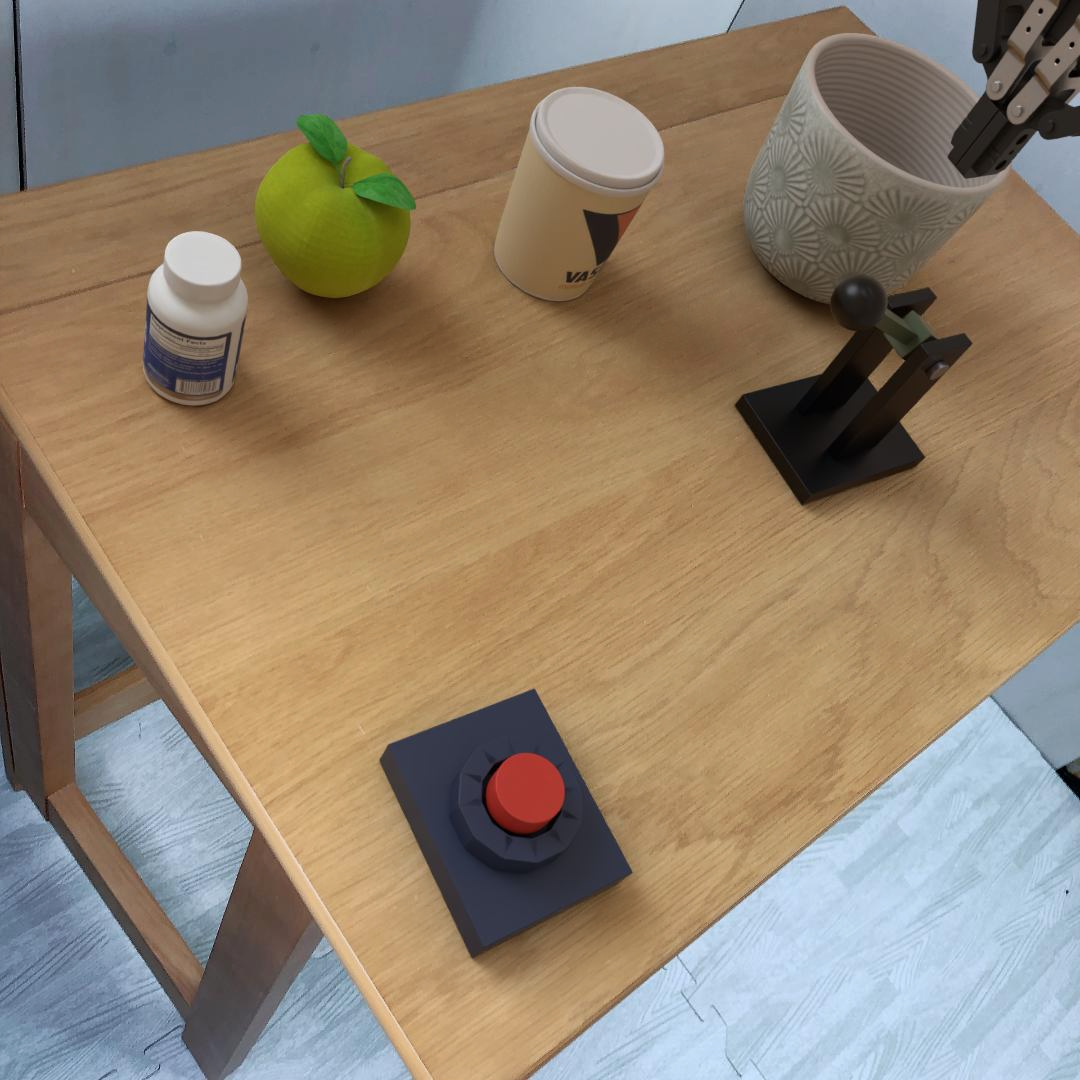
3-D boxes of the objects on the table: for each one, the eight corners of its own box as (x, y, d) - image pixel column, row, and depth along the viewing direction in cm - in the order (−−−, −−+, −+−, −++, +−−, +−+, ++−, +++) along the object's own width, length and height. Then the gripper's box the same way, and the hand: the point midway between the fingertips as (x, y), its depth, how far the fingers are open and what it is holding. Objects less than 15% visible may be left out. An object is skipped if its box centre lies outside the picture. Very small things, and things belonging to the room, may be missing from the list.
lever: (842, 336, 66) (888, 299, 64) (811, 295, 67) (856, 257, 65) (912, 375, 77) (953, 344, 76) (886, 339, 78) (925, 308, 77)
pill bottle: (178, 324, 71) (190, 205, 63) (252, 370, 71) (274, 257, 63) (122, 376, 68) (128, 257, 60) (200, 424, 68) (216, 311, 60)
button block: (617, 884, 61) (647, 861, 58) (471, 958, 56) (495, 938, 53) (522, 704, 65) (545, 673, 62) (378, 760, 60) (395, 730, 57)
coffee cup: (561, 331, 82) (626, 204, 72) (457, 253, 82) (508, 117, 73) (624, 270, 87) (692, 144, 78) (526, 198, 88) (581, 64, 78)
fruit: (321, 206, 80) (349, 86, 72) (414, 293, 79) (453, 181, 71) (217, 254, 75) (235, 131, 67) (315, 348, 73) (345, 234, 66)
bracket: (801, 505, 80) (907, 391, 70) (734, 405, 83) (825, 281, 73) (916, 467, 86) (1028, 356, 76) (849, 374, 89) (948, 256, 79)
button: (565, 818, 58) (578, 806, 57) (505, 846, 56) (516, 834, 55) (532, 755, 59) (544, 742, 58) (473, 780, 58) (483, 767, 56)
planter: (684, 179, 96) (773, 18, 84) (848, 192, 103) (951, 44, 91) (756, 337, 88) (864, 185, 76) (927, 339, 95) (1051, 200, 83)
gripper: (1076, -281, 46) (843, 84, 59) (1307, -69, 41) (997, 273, 55) (1180, -263, 49) (939, 76, 63) (1403, -67, 45) (1090, 253, 59)
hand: (966, 167), depth 59 cm, fingers closed
